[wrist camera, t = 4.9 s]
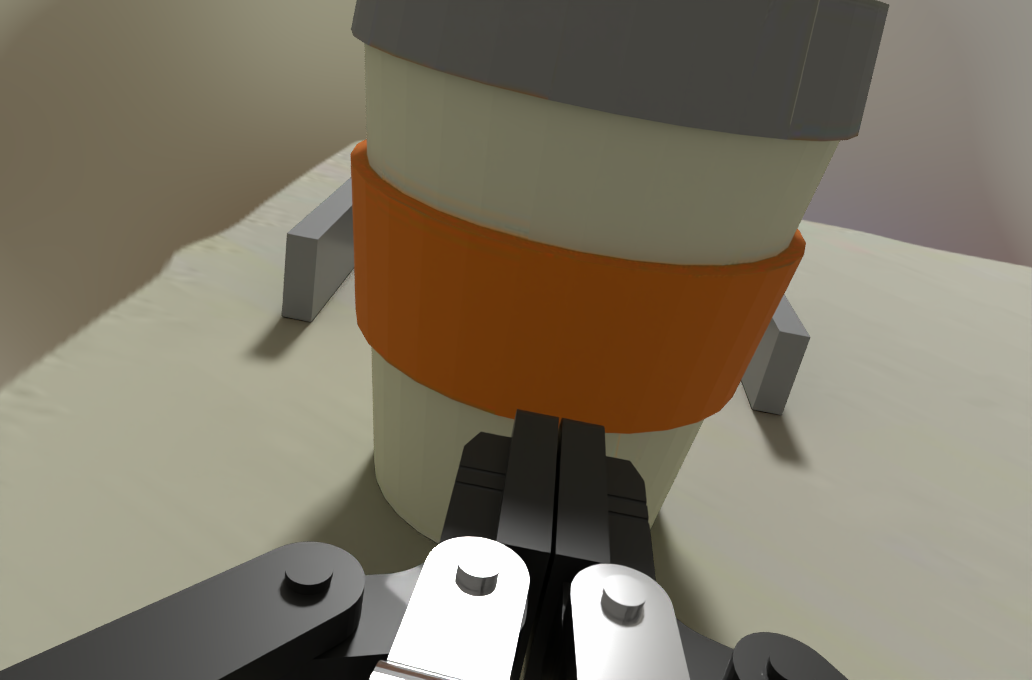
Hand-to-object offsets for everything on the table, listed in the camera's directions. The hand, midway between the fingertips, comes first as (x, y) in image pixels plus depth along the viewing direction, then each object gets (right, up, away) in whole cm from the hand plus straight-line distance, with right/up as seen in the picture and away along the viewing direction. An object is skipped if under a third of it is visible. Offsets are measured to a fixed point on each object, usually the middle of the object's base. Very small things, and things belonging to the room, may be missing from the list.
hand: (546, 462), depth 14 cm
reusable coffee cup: (-1, -2, +12) cm, 12 cm away
